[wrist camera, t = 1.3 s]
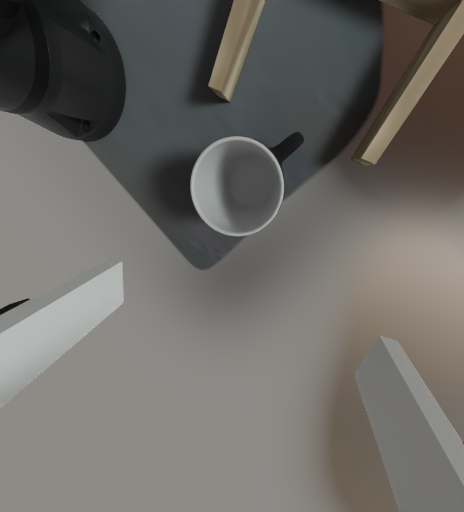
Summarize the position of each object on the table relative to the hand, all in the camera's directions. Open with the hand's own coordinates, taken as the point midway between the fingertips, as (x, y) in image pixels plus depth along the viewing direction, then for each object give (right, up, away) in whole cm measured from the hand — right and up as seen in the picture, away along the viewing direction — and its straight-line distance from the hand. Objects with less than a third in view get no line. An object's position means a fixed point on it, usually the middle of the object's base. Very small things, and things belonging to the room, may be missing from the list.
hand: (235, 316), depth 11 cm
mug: (+3, +14, +18) cm, 23 cm away
